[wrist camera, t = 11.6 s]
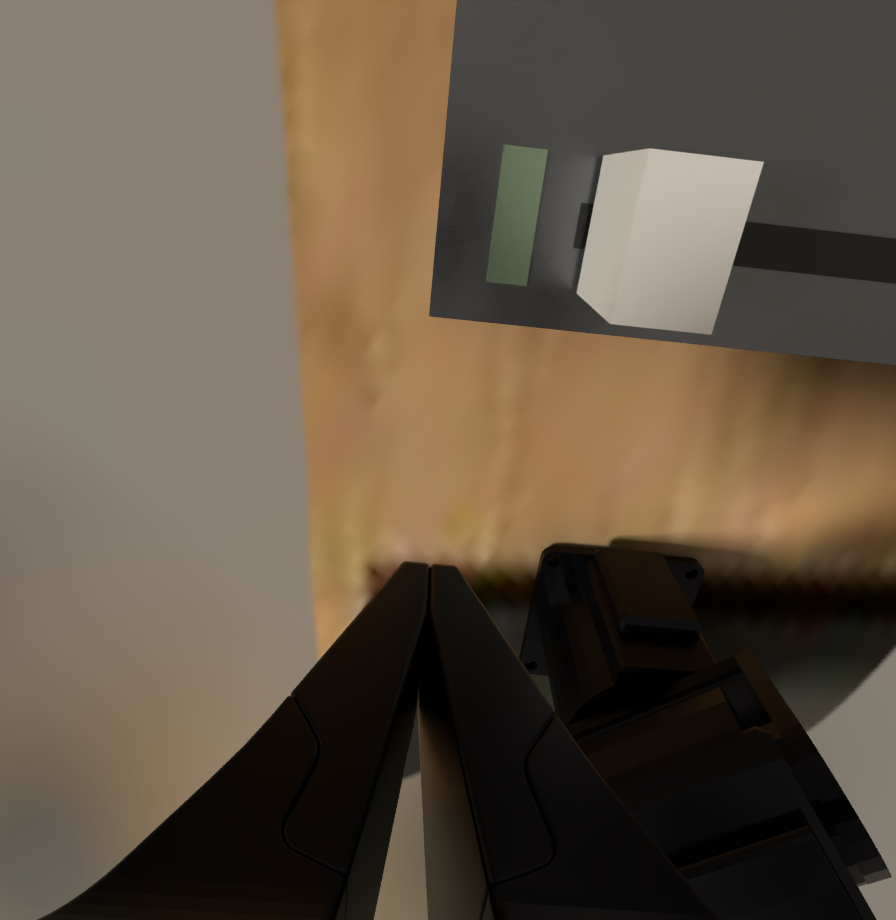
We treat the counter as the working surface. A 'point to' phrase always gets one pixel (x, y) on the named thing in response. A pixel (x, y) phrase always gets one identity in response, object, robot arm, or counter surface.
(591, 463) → the counter surface
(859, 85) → the dark grey flat plate
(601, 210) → the block
